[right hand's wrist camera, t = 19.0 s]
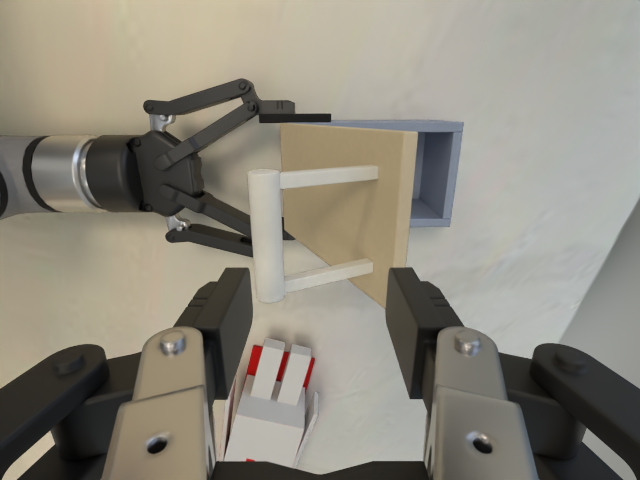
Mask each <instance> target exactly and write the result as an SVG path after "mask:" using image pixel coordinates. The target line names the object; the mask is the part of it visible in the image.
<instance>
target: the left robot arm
mask: <svg viewBox="0 0 640 480" xmlns="http://www.w3.org/2000/svg"><path fill="white" fill-rule="evenodd" d="M240 97H241V98H242V101H243V103H244V104H243V105H241V106H240V107H238V108H236V109H235V110H233V111H232V112H230V113H229V114H227V115H225V116H224V117H222V118H221V119H219V120H218V121H216V122H214V123H213V124H211V125H210V126H208V127H207V128H205V129H203V130H202V131H200V132H199V133H197V134H196V135H194V136H192V137H190V138H188V139H187V140H185V141H183V142H182V141H180V140H179V139H177V138H176V137H174V136H173V135H171V134H170V133H168V132H167V131H166V126H167V125H169V124H172V123H174V122H175V120H176V115H184V114H189V113H192V112H195V111H198V110H201V109H205V108H208V107H211V106H214V105H217V104H221V103H224V102H227V101H230V100H233V99H237V98H240ZM143 107H144V110H145V111H146V112H147V113H148V114H150V124H151V131H149V132H148V133H146V134H144V135H103V136H100V137H98V136H95V135H52V136H0V220H1V219H4V218H7V217H10V216H13V215H16V214H21V213H35V212H107V211H109V212H155V213H158V214H160V215H162V216H165V217H166V221H167V225H168V229H169V232H168V233H166V235H165V237H166V240H167V241H168V242H171V243H175V242H193V243H197V244H201V245H205V246H209V247H213V248H217V249H221V250H225V251H229V252H233V253H237V254H241V255H245V256H249V257H253V246H252V233H251V220H250V216H249V215H247V214H245V213H243V212H241V211H239V210H237V209H235V208H234V207H232V206H230V205H228V204H226V203H224V202H222V201H220V200H218V199H216V198H214V197H213V195H211V194H210V193H208V192H206V191H204V190H203V188H204V180H203V178H202V175H201V165H202V164H201V157H198V155H197V153H198V152H200V151H201V150H203V149H204V148H206V147H207V146H208V145H210V144H212V143H213V142H215V141H216V140H218V139H220V138H221V137H223V136H224V135H226V134H228V133H229V132H231V131H232V130H234V129H236V128H237V127H239V126H240V125H242V124H244V123H245V122H247V121H248V120H250V119H252V118H253V117H255V116H256V115H259V122H260V123H301V122H331V114H295V103H293V102H291V101H288V100H278V101H262V100H260V99H259V98H258V96H257V94H256V92H255V89H254V85H253V83H252V82H250V81H248V80H246V79H238V80H235V81H231V82H228V83H225V84H222V85H219V86H216V87H213V88H209V89H206V90H203V91H200V92H197V93H194V94H191V95H187V96H184V97H181V98H178V99H175V100H172V101H156V100H147V101H145V102H144V105H143ZM185 207H186V208H188V209H190V210H192V211H194V212H197V213H202V214H205V215H207V216H209V217H211V218H213V219H215V220H217V221H219V222H221V223H223V224H225V225H227V226H229V227H231V228H233V229H235V230H236V231H238V232H240V233H242V234H244V235H241V234H237V233H233V232H229V231H225V230H221V229H217V228H213V227H209V226H205V225H201V224H191V223H190V221H189V220H187V219H183V218H181V217H180V216H179V214H178V212H180V211H181V210H182V209H184V208H185ZM245 235H246V236H245ZM282 237H283V240H295V238H294V237H293V236H292V235H290V234H289V233H288V232H287V231H285V230H284V217H282Z"/></svg>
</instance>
